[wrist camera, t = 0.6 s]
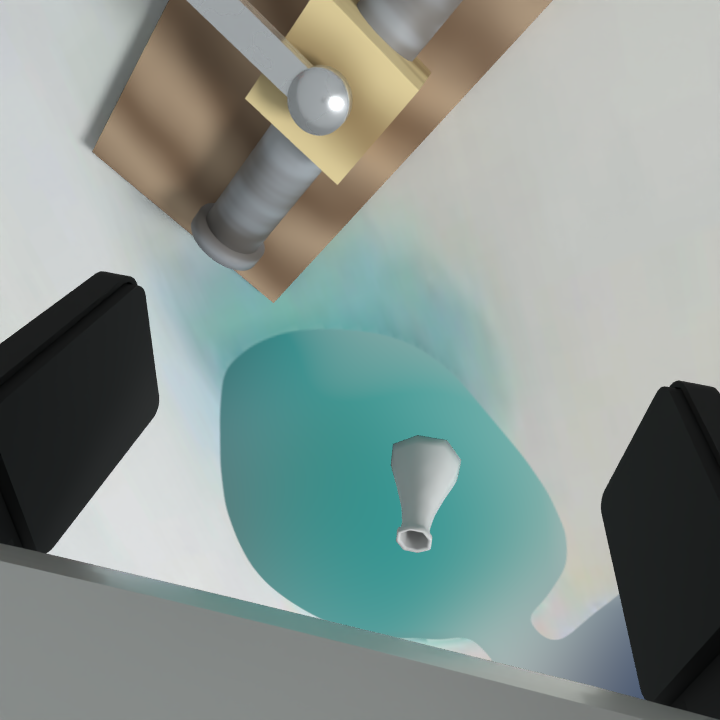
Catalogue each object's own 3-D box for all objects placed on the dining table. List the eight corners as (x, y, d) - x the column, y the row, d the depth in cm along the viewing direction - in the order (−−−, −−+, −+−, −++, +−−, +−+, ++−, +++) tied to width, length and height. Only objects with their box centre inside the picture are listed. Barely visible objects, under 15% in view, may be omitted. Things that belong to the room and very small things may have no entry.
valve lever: (365, 96, 29) (359, 101, 28) (328, 142, 31) (321, 149, 29) (112, -158, 25) (92, -166, 24) (86, -89, 27) (65, -93, 26)
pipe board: (419, -465, 25) (384, -665, 17) (663, -124, 29) (724, -161, 21) (103, 146, 44) (20, 182, 36) (279, 294, 48) (238, 354, 41)
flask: (382, 436, 55) (363, 513, 47) (454, 430, 53) (447, 510, 45) (399, 487, 59) (384, 567, 51) (467, 484, 57) (462, 567, 49)
